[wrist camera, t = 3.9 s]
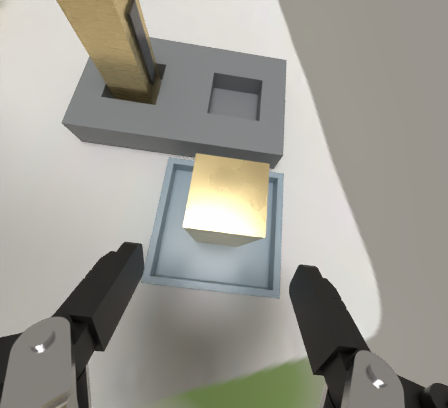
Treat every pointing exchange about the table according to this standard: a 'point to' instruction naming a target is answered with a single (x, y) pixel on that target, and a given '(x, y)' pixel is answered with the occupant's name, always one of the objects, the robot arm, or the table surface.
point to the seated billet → (117, 46)
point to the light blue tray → (212, 245)
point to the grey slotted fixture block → (190, 106)
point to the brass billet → (227, 201)
